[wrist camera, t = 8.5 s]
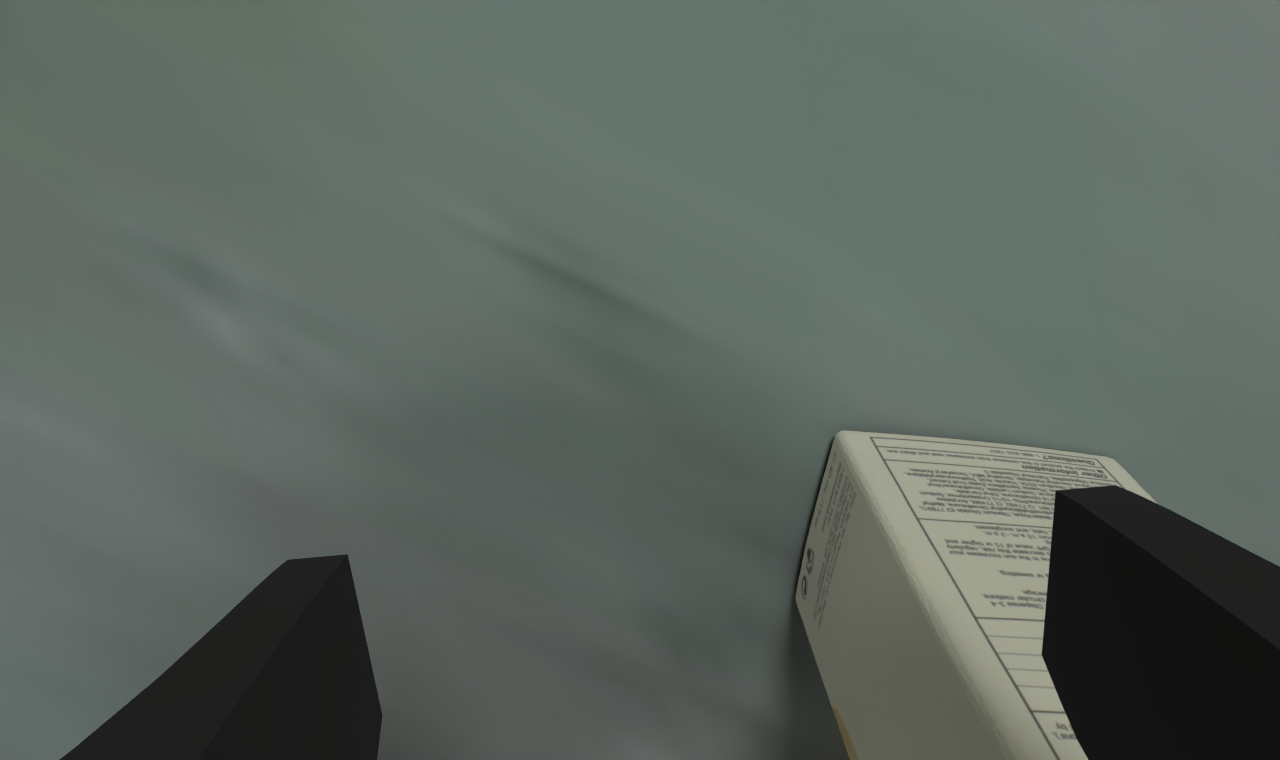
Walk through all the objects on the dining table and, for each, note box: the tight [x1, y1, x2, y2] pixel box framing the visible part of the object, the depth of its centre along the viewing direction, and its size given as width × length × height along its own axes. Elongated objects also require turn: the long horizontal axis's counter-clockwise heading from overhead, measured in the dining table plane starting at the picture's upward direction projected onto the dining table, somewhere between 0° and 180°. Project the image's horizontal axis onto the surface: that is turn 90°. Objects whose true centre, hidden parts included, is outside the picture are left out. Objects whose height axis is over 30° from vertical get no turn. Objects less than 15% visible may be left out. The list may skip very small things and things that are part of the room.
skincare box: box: [795, 431, 1158, 760], centre depth 18 cm, size 6×4×12 cm
